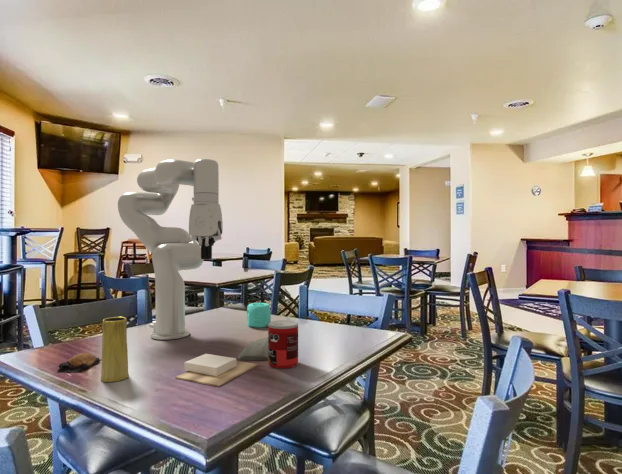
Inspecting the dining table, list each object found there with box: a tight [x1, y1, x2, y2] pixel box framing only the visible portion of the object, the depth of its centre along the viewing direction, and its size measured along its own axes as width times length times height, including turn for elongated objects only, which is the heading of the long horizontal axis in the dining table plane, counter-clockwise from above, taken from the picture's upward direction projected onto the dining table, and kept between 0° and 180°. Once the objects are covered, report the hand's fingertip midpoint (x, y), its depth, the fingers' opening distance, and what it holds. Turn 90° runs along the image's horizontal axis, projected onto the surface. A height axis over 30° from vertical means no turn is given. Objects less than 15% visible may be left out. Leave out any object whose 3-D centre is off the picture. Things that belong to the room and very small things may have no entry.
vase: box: [100, 316, 130, 383], centre depth 96 cm, size 6×6×14 cm
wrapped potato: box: [55, 352, 102, 374], centre depth 105 cm, size 11×8×4 cm
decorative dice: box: [246, 302, 272, 329], centre depth 151 cm, size 8×8×8 cm
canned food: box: [267, 319, 299, 369], centre depth 105 cm, size 8×8×11 cm
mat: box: [175, 360, 258, 387], centre depth 100 cm, size 13×16×1 cm
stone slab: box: [237, 336, 268, 361], centre depth 120 cm, size 22×3×10 cm
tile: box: [184, 353, 237, 376], centre depth 101 cm, size 2×8×10 cm
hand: (206, 258), depth 123 cm, fingers closed
